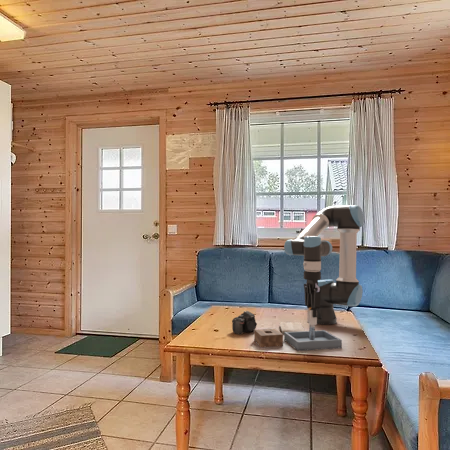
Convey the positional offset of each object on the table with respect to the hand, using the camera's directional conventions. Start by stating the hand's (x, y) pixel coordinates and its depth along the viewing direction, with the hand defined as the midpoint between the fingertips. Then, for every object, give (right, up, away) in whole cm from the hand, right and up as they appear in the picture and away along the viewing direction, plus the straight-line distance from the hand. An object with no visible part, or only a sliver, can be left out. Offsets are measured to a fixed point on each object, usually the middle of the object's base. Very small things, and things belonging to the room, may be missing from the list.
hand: (312, 323), depth 165 cm
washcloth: (-5, -10, +23) cm, 26 cm away
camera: (-29, -9, +19) cm, 36 cm away
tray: (0, -9, 0) cm, 9 cm away
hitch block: (-20, -9, 0) cm, 21 cm away
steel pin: (0, -7, 0) cm, 7 cm away
